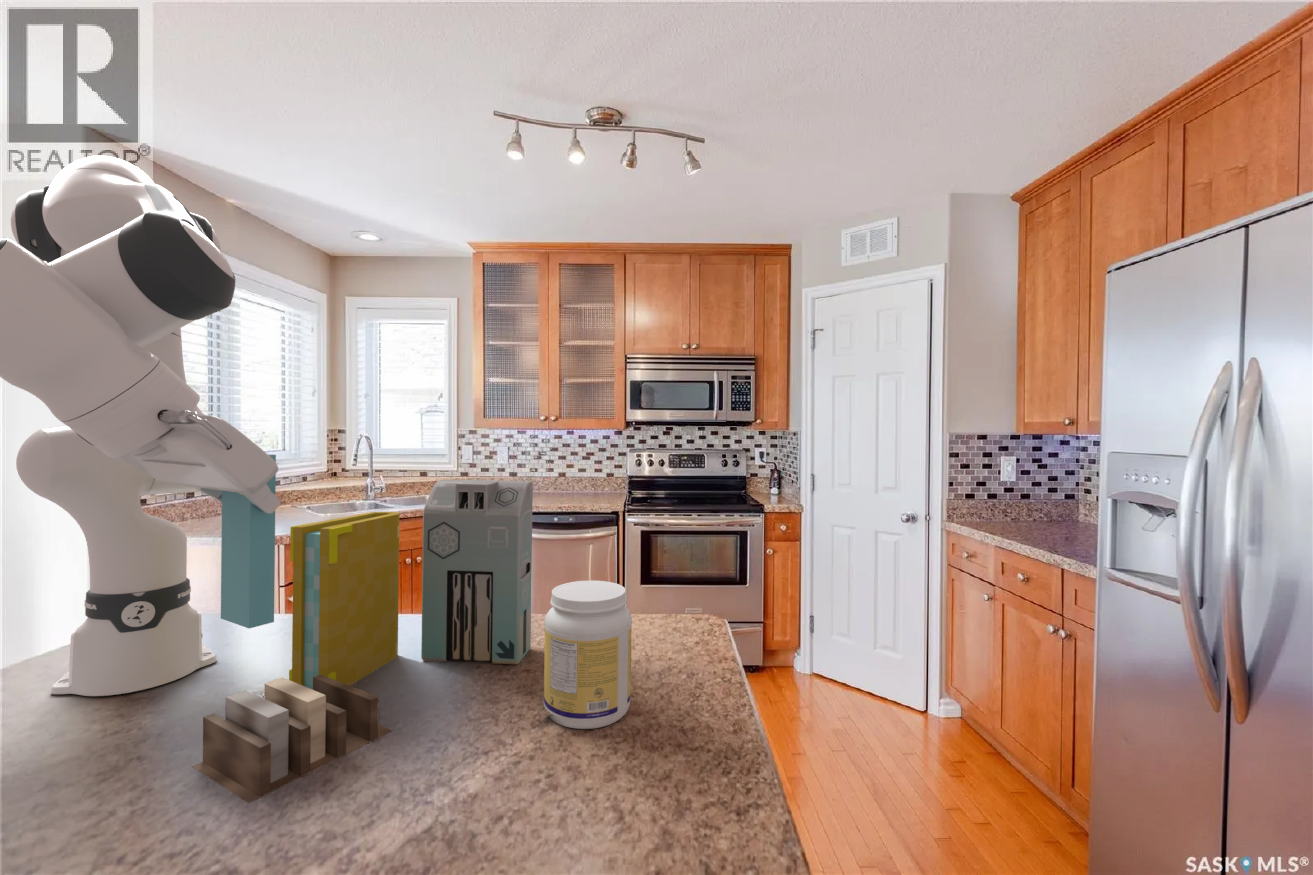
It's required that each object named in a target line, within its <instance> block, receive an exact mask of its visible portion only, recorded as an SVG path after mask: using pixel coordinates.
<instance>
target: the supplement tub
mask: <svg viewBox="0 0 1313 875" xmlns="http://www.w3.org/2000/svg"><path fill="white" fill-rule="evenodd" d="M627 602H628V599H627V594H626V588H625V586H623V585H621V584H619V583H615V582H611V581H606V580H577V581H571V582H567V583H565V582H564V583H562V584H559V585H557V586H555V587H553V588H552V590H551V599H550V605H551V608H550V609H549V610H548V611H547V613H546V616H545V619H544V669H543V670H544V672H543V673H544V674H543V676H544V677H543V706H544V708H545V710H546V711H547V712H548V713H550V714H549V715H548V718H549V719H550V720H552V722H554V723H556V724H558V725H560V726H564V727H567V728H570V729H571V728H572V729H576V730H578V729H579V730H580V729H581V730H589V729H590V730H591V729H598V728H603V727H606V726H609V725H612V724H614V723H616V722H617V721H619V720H621V719H622V718H623V717H624V716H625V715H626V714H627V711H628V710H629V708H630V705H631V699H632V696H631V695H632V694H631V690H632V689H631V686H632V684H631V683H632V681H631V679H632V631H633V630H632V625H633V620H632V614H631V612H630V610H629V609H628V607H627V606H626V604H627Z"/></svg>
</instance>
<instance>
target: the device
mask: <svg viewBox="0 0 1313 875" xmlns="http://www.w3.org/2000/svg"><path fill="white" fill-rule="evenodd" d="M533 486H534V485H533V481H532V480H491V479H487V480H485V479H484V480H483V479H447V478H446V479H438V480H437V481H436V482H435V483H434V485H432V488H431V491H430V493H429V495H428V498H427V500H426V503H425V505H424V506H423V510H422V511H423V512H422V571H421V572H422V575H421V581H422V583H421V650H420V651H421V652H420V653H421V660H422V661H425V662H446V663H449V662H453V663H473V664H474V663H475V664H494V665H495V664H496V665H497V664H498V665H500V664H501V665H519V664H520V663H521V661H522V660H523V658H524V657H525V656H526V655H527V654H528V652H529V651H530V649H531V644H532V642H531V640H532V639H531V638H532V637H531V636H532V635H531V634H532V632H531V629H532V628H531V627H532V625H531V624H532V567H533V566H532V564H533V563H532V562H533V560H532V559H533V556H532V555H533V551H532V550H533V498H534V497H533V496H534V495H533V491H534V490H533V489H534V488H533ZM448 661H449V662H448Z"/></svg>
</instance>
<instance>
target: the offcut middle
mask: <svg viewBox="0 0 1313 875" xmlns="http://www.w3.org/2000/svg"><path fill="white" fill-rule="evenodd" d="M263 697H264V699H266V700H268V701H270V702H273V703H275V704H277V705H279V706H281V707H284V708H286V709H288V710H289V716H291V717H293V718H295V719H297V720H299V721H301V722H303V723H306V724H308V725H310V726H311V750H310V764H311V763H313V762H315V761H317V760H319V759H321V758H323V757H325V727H326V695H324V694H322V693H319V692H317V691H314V690H312V689H310V688H307V687H305V686H302V685H300V684H297V683H295V682H293V681H290V680H289V678H288V679H287V678H285V677H283V676H282V677H279V678H277V679H274V680H272V681H268V682H265V683H264V696H263Z"/></svg>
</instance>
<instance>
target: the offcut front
mask: <svg viewBox="0 0 1313 875" xmlns="http://www.w3.org/2000/svg"><path fill="white" fill-rule="evenodd" d="M224 715H225V718H224V719H226V720H228V721H230V722H232V723H233V724H235V725H237V726H239V727H241V728H243V729H245V730H247V731H249V732H251V733H252V734H254V735H256V736H258V737H260V738H262V739H264V740H266V741H268V742H270V743H271V782H270V783H272V782H274V781H276V780H278V779H280V778H282V777H284V776H286V775H288V732H289V710H288V709H286V708H284V707H281V706H279V705H277V704H275V703H273V702H270V701H268V700H266V699H264V698H263V697H262V696H259V695H257V694H256V693H253V692H250V691H248V690H246V689H245V690H242V691H239V692H236V693H233V694H231V695H228V696H225V714H224Z"/></svg>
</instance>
